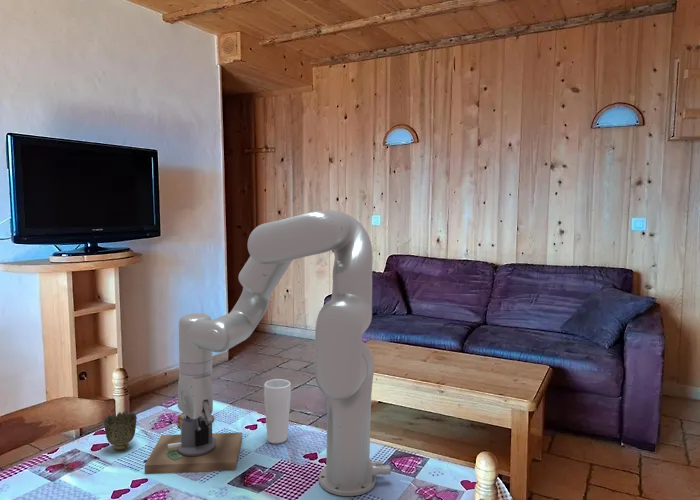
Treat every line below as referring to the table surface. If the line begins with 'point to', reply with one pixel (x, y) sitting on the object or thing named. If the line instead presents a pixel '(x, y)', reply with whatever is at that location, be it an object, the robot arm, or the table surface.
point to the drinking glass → (277, 409)
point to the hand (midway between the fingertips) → (196, 439)
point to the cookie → (183, 418)
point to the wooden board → (215, 460)
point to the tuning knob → (192, 439)
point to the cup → (120, 429)
